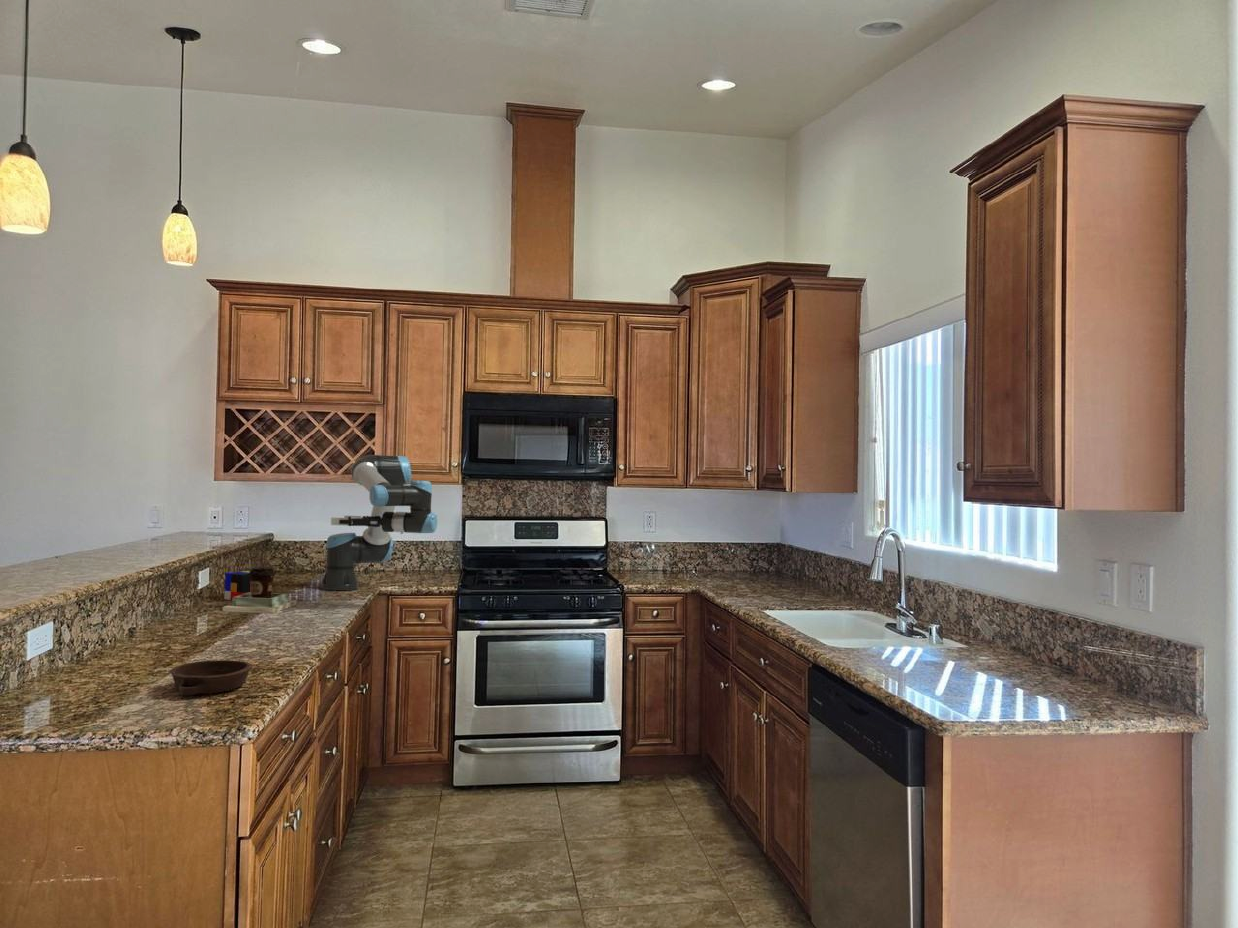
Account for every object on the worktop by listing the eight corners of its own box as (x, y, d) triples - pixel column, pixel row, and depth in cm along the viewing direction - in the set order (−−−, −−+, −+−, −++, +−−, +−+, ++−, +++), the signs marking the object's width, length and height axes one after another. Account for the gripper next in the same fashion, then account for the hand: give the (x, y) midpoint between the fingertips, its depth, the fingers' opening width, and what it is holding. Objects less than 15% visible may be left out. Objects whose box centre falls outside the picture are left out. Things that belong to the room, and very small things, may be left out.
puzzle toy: (224, 599, 336) (225, 573, 336) (246, 596, 345) (247, 570, 345) (242, 601, 331) (243, 575, 331) (264, 598, 340) (265, 572, 340)
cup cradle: (248, 602, 329) (249, 590, 329) (296, 604, 328) (296, 592, 328) (222, 611, 309) (223, 598, 309) (272, 613, 308) (273, 600, 308)
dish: (267, 678, 217) (268, 658, 217) (227, 701, 195) (227, 679, 195) (196, 676, 217) (197, 655, 217) (148, 699, 195) (149, 676, 195)
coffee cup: (257, 606, 313) (258, 569, 313) (242, 603, 317) (244, 567, 317) (278, 603, 320) (279, 567, 320) (264, 601, 324) (265, 565, 325)
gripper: (383, 534, 314) (325, 532, 315) (403, 529, 339) (349, 528, 340) (384, 513, 314) (325, 511, 315) (404, 510, 339) (350, 508, 340)
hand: (338, 520), depth 328 cm, fingers open, 13 cm apart
